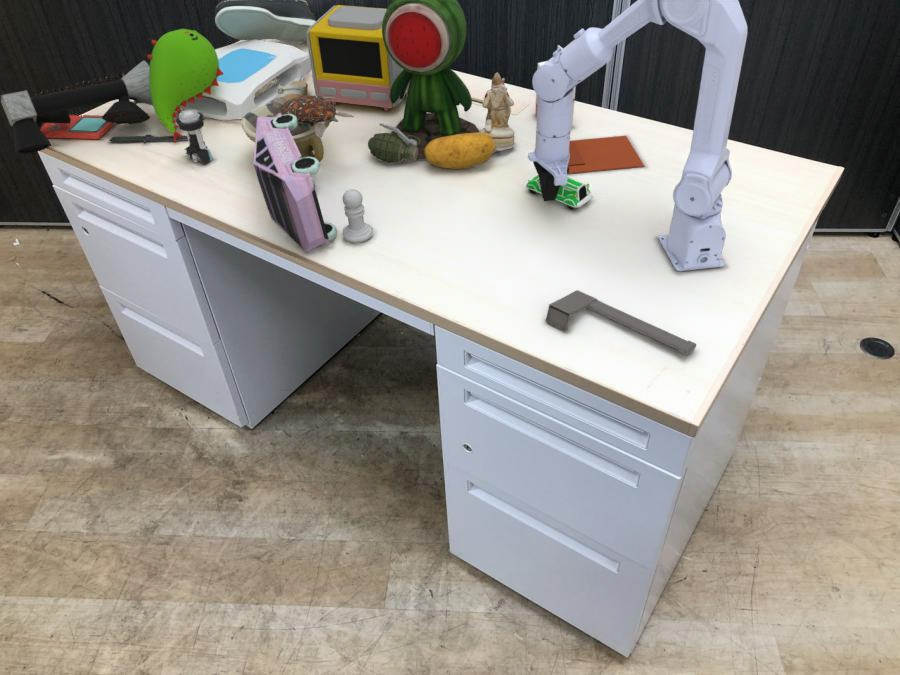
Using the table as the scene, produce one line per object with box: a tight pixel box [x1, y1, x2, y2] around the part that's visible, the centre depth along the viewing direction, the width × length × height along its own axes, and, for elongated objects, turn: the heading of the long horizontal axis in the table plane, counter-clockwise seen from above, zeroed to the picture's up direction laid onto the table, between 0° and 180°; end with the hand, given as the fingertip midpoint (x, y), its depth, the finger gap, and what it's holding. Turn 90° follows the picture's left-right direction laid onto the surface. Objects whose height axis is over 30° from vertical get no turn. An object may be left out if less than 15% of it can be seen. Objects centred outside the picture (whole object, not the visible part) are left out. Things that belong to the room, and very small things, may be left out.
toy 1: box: [143, 28, 224, 144], centre depth 159 cm, size 13×23×15 cm
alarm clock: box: [306, 4, 410, 112], centre depth 167 cm, size 20×16×18 cm
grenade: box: [367, 122, 421, 164], centre depth 150 cm, size 6×7×10 cm
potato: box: [424, 131, 495, 170], centre depth 148 cm, size 8×14×7 cm, turn 88°
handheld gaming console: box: [40, 114, 116, 140], centre depth 166 cm, size 9×1×15 cm
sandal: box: [276, 80, 309, 101], centre depth 170 cm, size 7×16×5 cm, turn 167°
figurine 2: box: [479, 72, 515, 153], centre depth 151 cm, size 7×7×15 cm
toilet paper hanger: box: [545, 290, 697, 356], centre depth 112 cm, size 20×8×3 cm, turn 49°
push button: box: [175, 109, 213, 166], centre depth 152 cm, size 7×5×10 cm
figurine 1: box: [382, 0, 480, 161], centre depth 148 cm, size 17×20×30 cm
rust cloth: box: [568, 135, 645, 175], centre depth 151 cm, size 12×18×1 cm, turn 97°
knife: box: [108, 133, 188, 144], centre depth 162 cm, size 18×1×3 cm
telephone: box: [0, 60, 153, 155], centre depth 161 cm, size 15×13×30 cm
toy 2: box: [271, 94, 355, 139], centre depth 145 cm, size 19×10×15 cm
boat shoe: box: [214, 0, 318, 44], centre depth 186 cm, size 11×30×9 cm
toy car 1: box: [253, 113, 338, 253], centre depth 133 cm, size 15×25×10 cm
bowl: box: [240, 100, 331, 163], centre depth 150 cm, size 18×18×10 cm
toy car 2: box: [525, 174, 594, 211], centre depth 139 cm, size 12×5×4 cm, turn 49°
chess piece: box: [341, 188, 374, 243], centre depth 131 cm, size 5×5×9 cm
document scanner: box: [180, 39, 312, 121], centre depth 175 cm, size 21×28×6 cm
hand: (548, 199), depth 137 cm, fingers closed
